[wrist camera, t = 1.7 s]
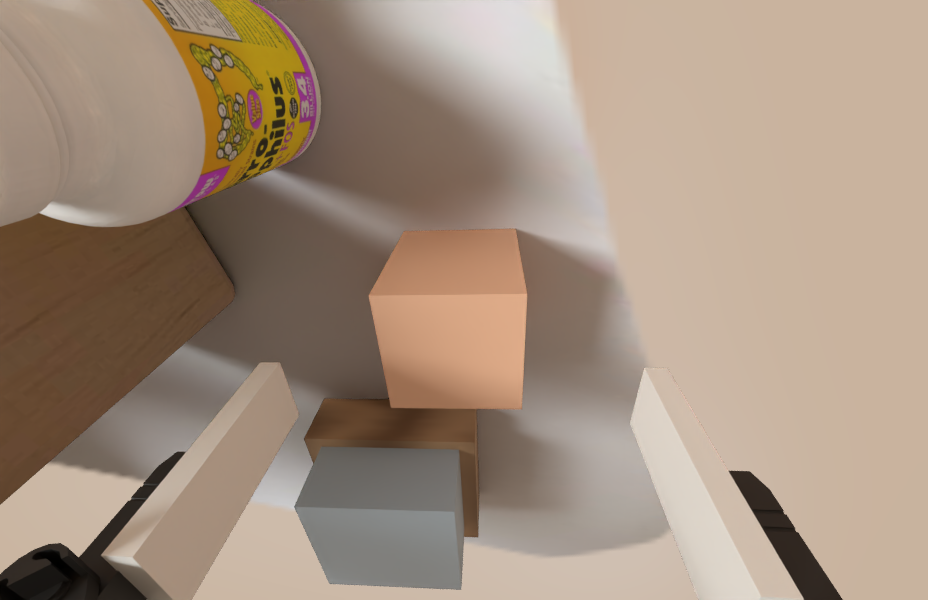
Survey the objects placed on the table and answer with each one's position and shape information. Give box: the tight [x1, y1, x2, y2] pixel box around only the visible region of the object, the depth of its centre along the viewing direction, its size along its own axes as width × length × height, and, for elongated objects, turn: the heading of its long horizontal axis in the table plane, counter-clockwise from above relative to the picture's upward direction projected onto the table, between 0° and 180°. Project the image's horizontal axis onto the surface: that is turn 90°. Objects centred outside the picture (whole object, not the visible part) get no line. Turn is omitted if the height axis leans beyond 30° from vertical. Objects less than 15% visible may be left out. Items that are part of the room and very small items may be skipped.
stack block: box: [369, 229, 527, 409], centre depth 19 cm, size 6×6×7 cm
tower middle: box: [294, 447, 464, 590], centre depth 25 cm, size 9×9×4 cm
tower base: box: [304, 399, 479, 537], centre depth 28 cm, size 11×11×4 cm
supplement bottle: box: [0, 0, 321, 227], centre depth 12 cm, size 7×7×13 cm
